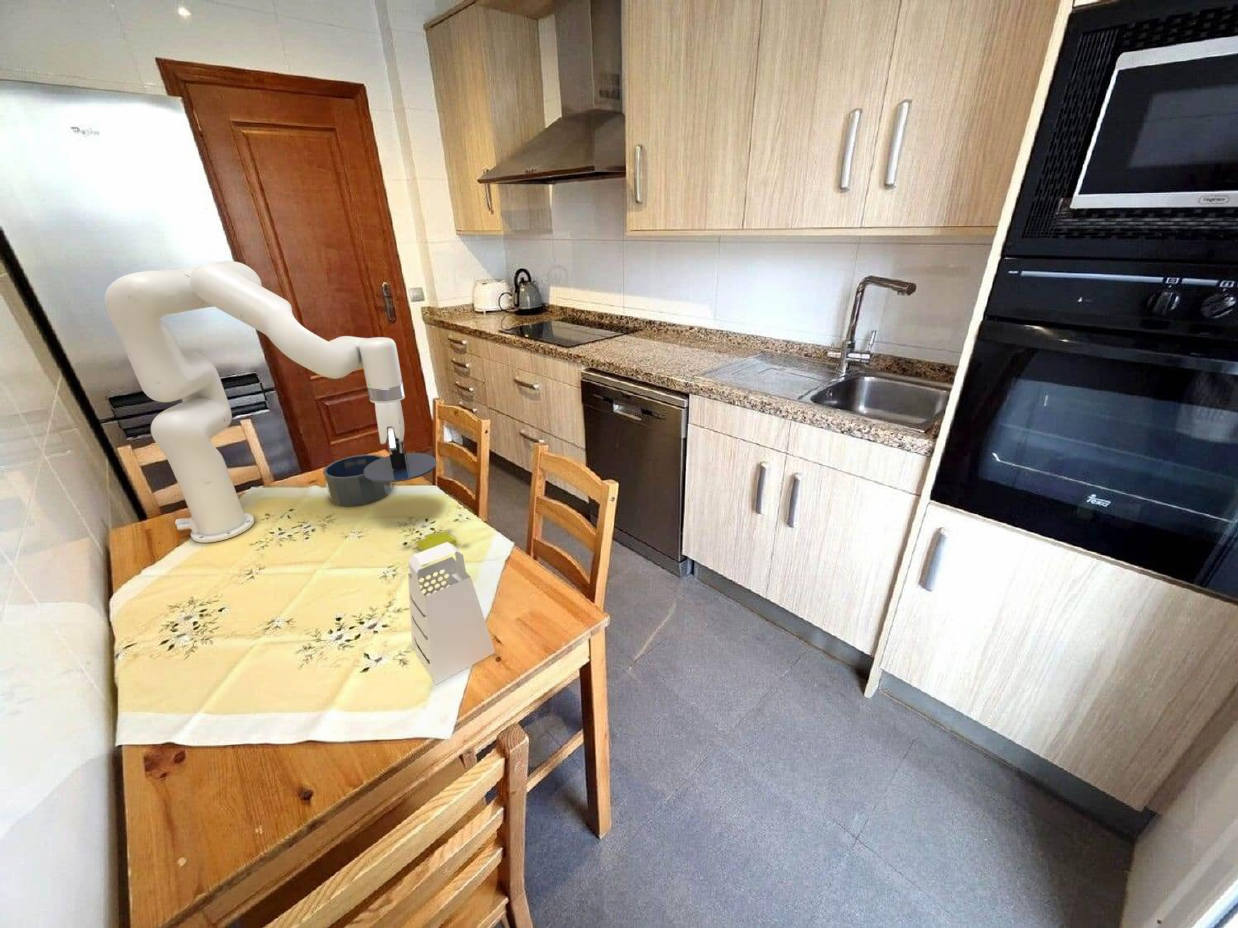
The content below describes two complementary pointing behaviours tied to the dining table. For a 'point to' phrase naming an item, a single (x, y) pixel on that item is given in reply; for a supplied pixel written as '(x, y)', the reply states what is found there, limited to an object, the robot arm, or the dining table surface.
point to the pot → (353, 482)
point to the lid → (414, 468)
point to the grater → (446, 615)
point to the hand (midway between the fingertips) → (400, 464)
